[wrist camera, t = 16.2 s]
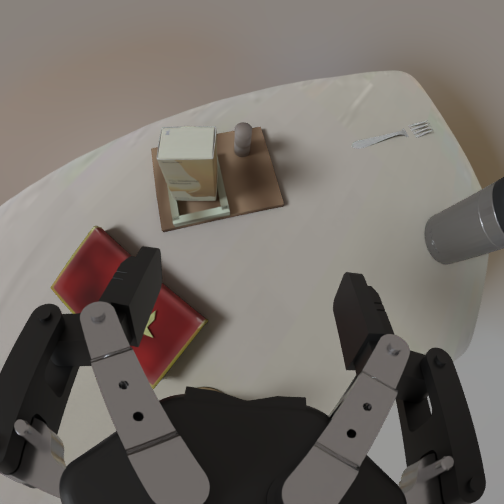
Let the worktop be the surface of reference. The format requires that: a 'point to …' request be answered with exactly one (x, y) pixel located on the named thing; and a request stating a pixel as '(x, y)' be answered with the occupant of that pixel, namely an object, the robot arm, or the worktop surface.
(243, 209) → the pin board
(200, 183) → the skincare box
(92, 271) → the hardcover book
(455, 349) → the worktop surface
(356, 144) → the fork
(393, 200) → the worktop surface
